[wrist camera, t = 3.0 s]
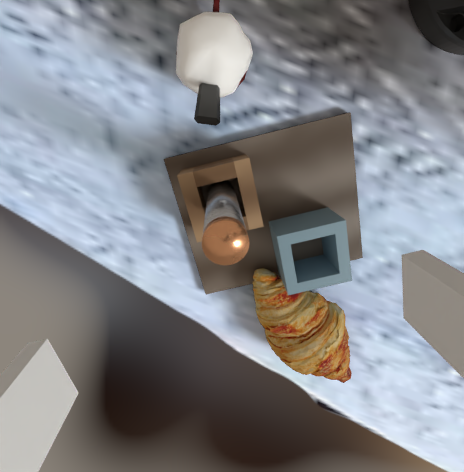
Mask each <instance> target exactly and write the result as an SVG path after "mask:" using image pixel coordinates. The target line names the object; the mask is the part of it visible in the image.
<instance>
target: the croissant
mask: <svg viewBox="0 0 464 472" xmlns="http://www.w3.org/2000/svg"><path fill="white" fill-rule="evenodd" d="M253 279H254V281H253V291H254V299H255V303H256V313H257V316H258V319H259V321H260V323H261V325H262V326H263V327H264V328H265V335H266V339H267V341H268V343H269V344H270V346H271V348H272V350H273V351H274V352H275V354H276V355H277V356H279V357H280V360H282V361H283V362H284V363H285V364H286V365H287V366H289V367H290V368H292V369H293V370H295V371H296V372H299V373H301V374H305V375H307V374H310V373H311V374H312V375H315V376H324V377H325V378H328V379H331V380H339V381H341V382H343V383H344V382H346V381H347V380H349V379H350V378H351V370H350V368H349V362H350V358H349V357H350V350H349V346H348V339H349V336H348V333H347V329H346V326H345V314H344V311H343V310H342V309H341V308H340V307H339V306H338V305H337V304H336V303H332V302H330V301H326V299H325V298H324V297H323V296H321V295H320V294H319V293H312V292H310V291H305V292H300V293H296V294H292V295H288V294H287V291H286V289H285V287H284V284H283V282H282V280H281V279H280V278H279V276H278V275H277V274H276V273H274V272H272V271H270V270H267V269H264V268H261V269H257V270H255V272H254V275H253Z"/></svg>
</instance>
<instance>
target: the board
mask: <svg viewBox="0 0 464 472" xmlns="http://www.w3.org/2000/svg"><path fill="white" fill-rule="evenodd" d="M244 154H246V155H247V156H248V157H249V159H250V163H251V168H252V173H253V178H254V183H255V187H256V192H257V197H258V202H259V207H260V211H261V216H262V221H263V226H264V227H260V228H256V229H251V230H247V234H248V237H249V249H248V252H247V253H246V255H245V256H244V258H243V259H241V260H240V261H239V262H237V263H235V264H232V265H219V264H216V263H214V262H212V261H211V260H209V259H208V258H207V257H206V255H205V254H204V252H203V249H202V241H201V242H197V240H196V237H195V234H194V230H193V227H192V224H191V220H190V217H189V214H188V210H187V207H186V204H185V200H184V197H183V194H182V190H181V187H180V184H179V180H178V177H177V175H178V174H179V173H180V171H181V170H183V169H187V168H191V167H195V166H199V165H203V164H207V163H211V162H215V161H219V160H224V159H228V158H232V157H236V156H240V155H244ZM164 162H165V165H166V168H167V171H168V174H169V178H170V181H171V184H172V187H173V190H174V194H175V197H176V200H177V203H178V207H179V210H180V213H181V216H182V219H183V223H184V226H185V229H186V232H187V236H188V239H189V242H190V245H191V248H192V252H193V255H194V258H195V261H196V265H197V268H198V271H199V274H200V277H201V281H202V284H203V287H204V290H205V293H206V294H210V293H214V292H218V291H223V290H227V289H231V288H235V287H240V286H244V285H248V284H252V283H253V281H254V279H253V275H254V272H255V270H257V269H261V268H264V269H267V270H270V271H272V272H274V273H276V274H277V275H278V276H279V277H280V275H279V272H278V267H277V262H276V257H275V252H274V247H273V242H272V237H271V232H270V227H269V222H268V221H273V220H277V219H281V218H285V217H289V216H293V215H298V214H302V213H306V212H310V211H314V210H318V209H323V208H327V207H328V208H330V209H331V210H332V211H334V212H335V213H337V214H338V215H339V216H341V217H342V218H344V219H345V220H346V226H347V236H348V246H349V256H350V261H351V260H355V259H359V258H363V257H362V245H361V233H360V221H359V209H358V197H357V185H356V172H355V160H354V148H353V136H352V124H351V113H345V114H341V115H337V116H333V117H329V118H325V119H321V120H317V121H313V122H309V123H305V124H301V125H297V126H293V127H289V128H285V129H281V130H277V131H273V132H269V133H265V134H261V135H257V136H253V137H249V138H245V139H241V140H237V141H233V142H229V143H225V144H221V145H217V146H213V147H209V148H205V149H201V150H197V151H193V152H189V153H185V154H181V155H177V156H173V157H169V158H165V159H164ZM225 181H228V182H229V183H230V184H231V185H232V186H233V188H234V190H235V194H236V197H237V200H238V204H239V207H242V206H243V205H242V201H241V196H240V192H239V188H238V183H237V179H236V178H232V179H228V180H225ZM210 185H211V184H208V185H204V186H201V189H202V193H203V197H204V200H205V204H206V203H207V194H208V189H209V187H210ZM291 250H292V255H293V261H297V260H302V259H306V258H310V257H314V256H319V255H323V246H322V239H321V237H320V238H316V239H312V240H308V241H304V242H299V243H295V244H291Z"/></svg>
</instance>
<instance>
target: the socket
mask: <svg viewBox="0 0 464 472" xmlns="http://www.w3.org/2000/svg"><path fill="white" fill-rule="evenodd" d="M268 222H269V227H270V232H271V237H272V242H273V247H274V252H275V257H276V262H277V267H278V272H279V275H280V277H281V280H282V282H283V284H284V287H285V289H286V291H287V294H288V295H292V294H296V293H300V292H305V291H309V290H313V289H318V288H322V287H326V286H331V285H335V284H339V283H344V282H348V281H352V276H351V266H350V256H349V246H348V236H347V226H346V220H345V219H344V218H342V217H341V216H339V215H338V214H337V213H335V212H334V211H332V210H331V209H330V208H328V207H327V208H323V209H318V210H314V211H310V212H306V213H302V214H298V215H293V216H289V217H285V218H281V219H277V220H273V221H268ZM320 237H321V239H322V246H323V255H319V256H314V257H310V258H306V259H302V260H297V261H293V255H292V250H291V244H295V243H299V242H304V241H308V240H312V239H316V238H320Z"/></svg>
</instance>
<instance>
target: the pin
mask: <svg viewBox="0 0 464 472" xmlns="http://www.w3.org/2000/svg"><path fill="white" fill-rule="evenodd" d="M202 249H203V252H204V254H205V255H206V257H207V258H208V259H209V260H211V261H212V262H214V263H216V264H219V265H232V264H235V263H237V262H239V261H240V260H241V259H243V258H244V256H245V255H246V253H247V252H248V249H249V237H248V234H247V230H246V227H245V224H244V220H243V217H242V214H241V210H240V207H239V204H238V200H237V197H236V194H235V190H234V188H233V186H232V185H231V184H230V183H229V182H228V181H225V180H224V181H220V182H216V183H212V184H211V185H210V187H209V189H208V194H207V203H206V211H205V220H204V228H203V236H202Z"/></svg>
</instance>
